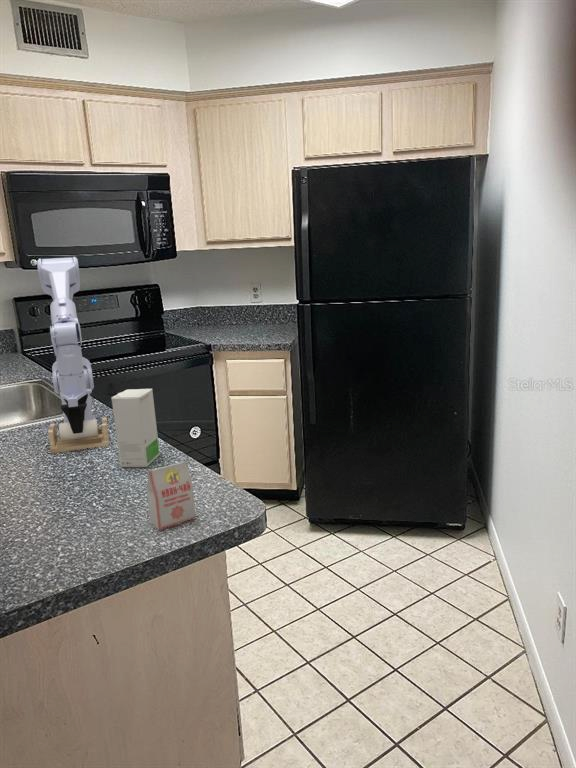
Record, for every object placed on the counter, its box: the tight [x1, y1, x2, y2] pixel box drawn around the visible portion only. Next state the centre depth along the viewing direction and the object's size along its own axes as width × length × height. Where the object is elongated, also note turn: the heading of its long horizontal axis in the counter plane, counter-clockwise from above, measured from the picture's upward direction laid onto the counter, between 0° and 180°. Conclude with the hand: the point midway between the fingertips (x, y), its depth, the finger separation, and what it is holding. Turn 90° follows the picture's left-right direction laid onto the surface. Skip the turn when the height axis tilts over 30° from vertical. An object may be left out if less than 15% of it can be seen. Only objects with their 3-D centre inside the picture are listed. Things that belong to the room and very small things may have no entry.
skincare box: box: [111, 388, 161, 468], centre depth 130 cm, size 8×7×16 cm
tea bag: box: [146, 461, 197, 531], centre depth 102 cm, size 4×7×10 cm, turn 124°
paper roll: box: [58, 418, 100, 442], centre depth 144 cm, size 9×5×5 cm, turn 106°
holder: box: [47, 416, 110, 454], centre depth 144 cm, size 8×13×5 cm, turn 106°
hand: (78, 428), depth 144 cm, fingers open, 7 cm apart
